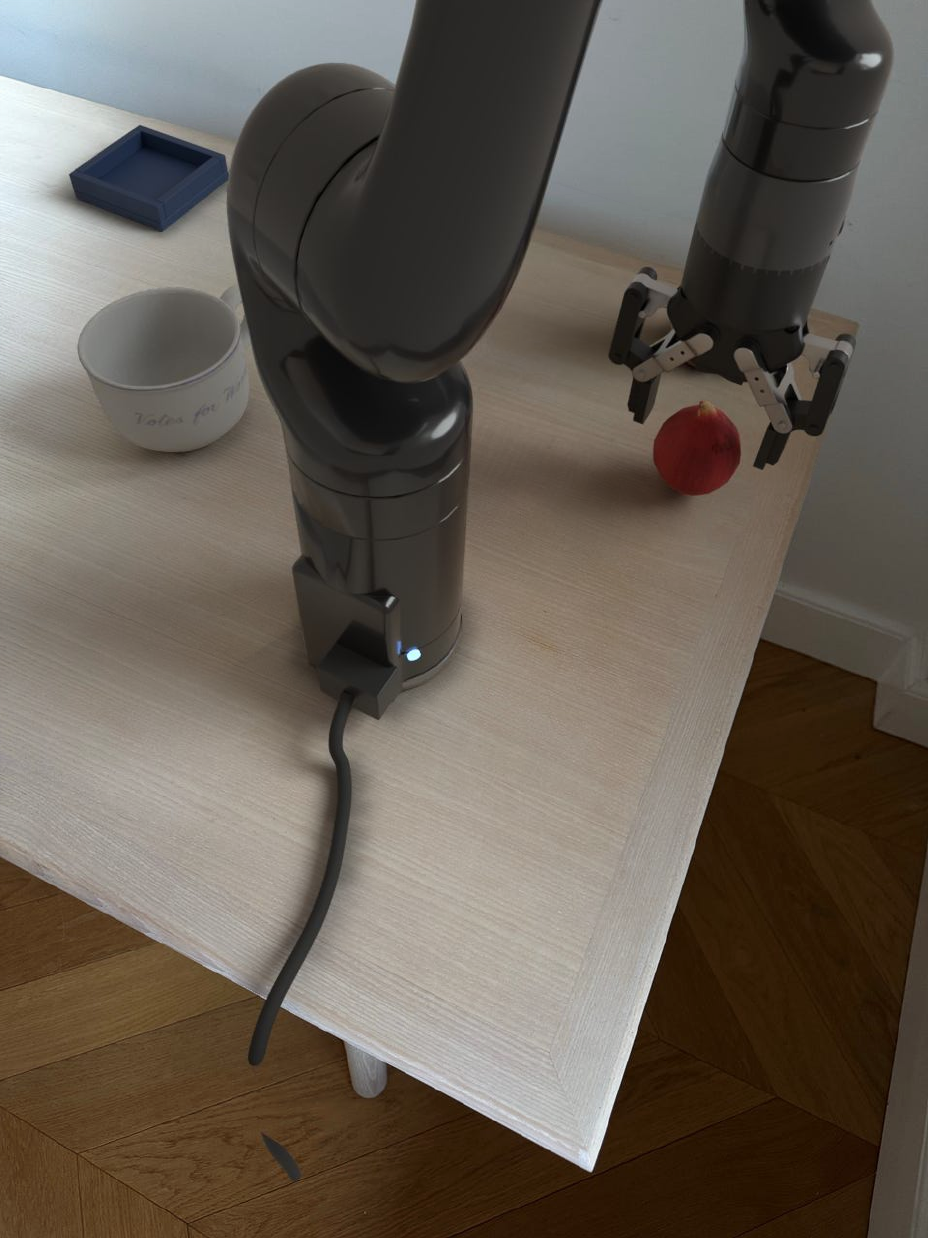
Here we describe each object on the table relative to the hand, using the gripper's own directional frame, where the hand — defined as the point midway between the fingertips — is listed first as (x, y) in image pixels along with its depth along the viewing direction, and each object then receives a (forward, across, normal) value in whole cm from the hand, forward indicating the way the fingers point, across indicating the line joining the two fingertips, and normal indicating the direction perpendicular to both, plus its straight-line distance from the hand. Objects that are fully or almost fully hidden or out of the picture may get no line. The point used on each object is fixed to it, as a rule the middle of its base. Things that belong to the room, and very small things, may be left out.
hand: (701, 437), depth 68 cm
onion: (+5, 0, 0) cm, 5 cm away
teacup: (+4, -34, -11) cm, 36 cm away
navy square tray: (+4, -55, +10) cm, 56 cm away
